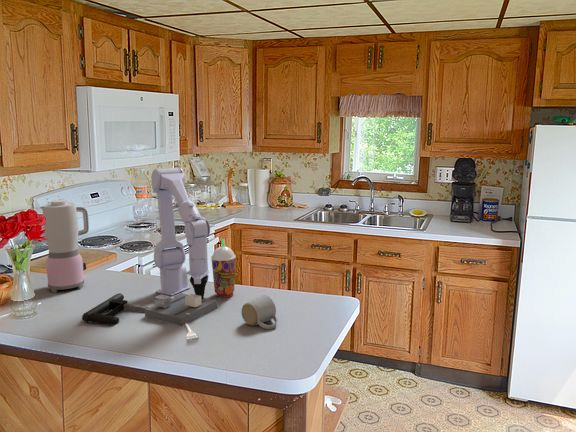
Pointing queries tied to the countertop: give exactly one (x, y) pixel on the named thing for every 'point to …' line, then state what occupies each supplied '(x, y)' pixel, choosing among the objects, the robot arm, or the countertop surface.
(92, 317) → the gun
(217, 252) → the smoothie
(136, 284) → the countertop surface
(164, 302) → the steel fader
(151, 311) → the gray slider board
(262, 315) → the ceramic mug
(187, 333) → the fork
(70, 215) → the blender
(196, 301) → the block
